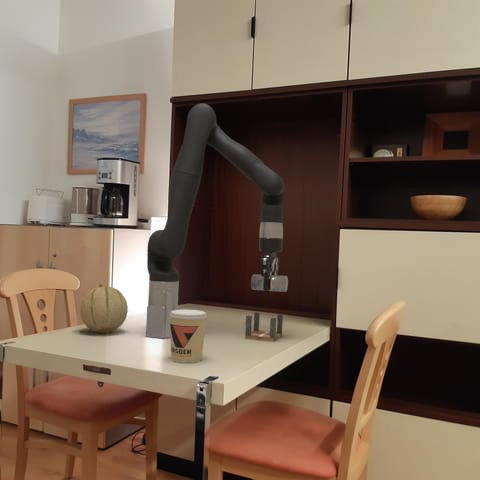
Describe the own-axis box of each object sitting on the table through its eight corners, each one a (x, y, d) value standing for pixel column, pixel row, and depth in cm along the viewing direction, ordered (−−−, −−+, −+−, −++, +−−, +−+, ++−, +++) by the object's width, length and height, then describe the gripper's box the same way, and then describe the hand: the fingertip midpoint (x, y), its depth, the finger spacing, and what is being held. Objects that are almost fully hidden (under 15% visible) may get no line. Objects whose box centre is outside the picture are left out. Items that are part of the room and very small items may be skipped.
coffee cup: (160, 360, 121) (163, 312, 121) (178, 353, 130) (180, 308, 130) (194, 365, 118) (197, 315, 118) (210, 357, 126) (212, 311, 127)
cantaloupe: (103, 338, 144) (105, 288, 144) (68, 332, 151) (70, 284, 151) (136, 332, 157) (138, 285, 157) (103, 326, 164) (105, 282, 164)
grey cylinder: (250, 290, 156) (251, 274, 156) (255, 289, 161) (255, 273, 161) (284, 292, 153) (284, 276, 153) (287, 291, 158) (288, 275, 158)
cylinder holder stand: (273, 342, 151) (274, 318, 151) (245, 338, 154) (246, 316, 154) (282, 336, 160) (283, 314, 160) (254, 333, 164) (255, 312, 164)
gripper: (265, 237, 165) (264, 287, 165) (253, 236, 151) (251, 290, 151) (287, 237, 163) (285, 288, 163) (276, 236, 149) (274, 292, 149)
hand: (269, 289), depth 157 cm, fingers closed on grey cylinder, 5 cm apart
